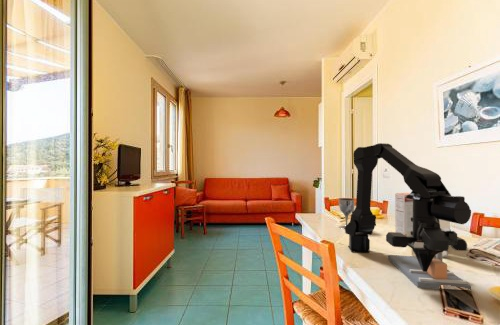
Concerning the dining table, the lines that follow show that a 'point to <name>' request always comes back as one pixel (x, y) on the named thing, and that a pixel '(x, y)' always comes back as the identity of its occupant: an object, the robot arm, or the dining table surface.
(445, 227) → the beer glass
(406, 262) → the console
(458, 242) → the robot arm
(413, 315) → the dining table surface
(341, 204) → the wine glass
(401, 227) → the cracker box
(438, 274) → the fader
